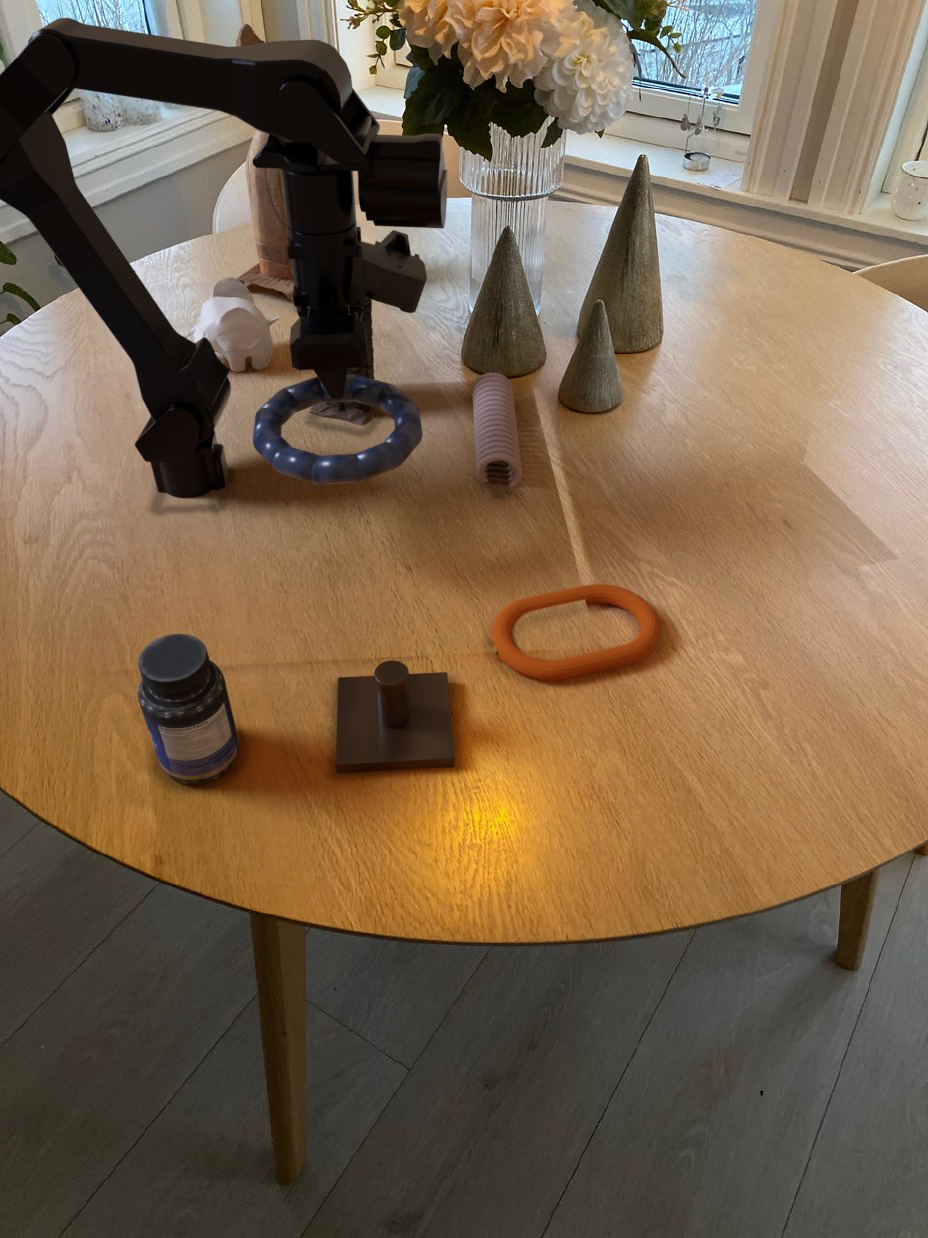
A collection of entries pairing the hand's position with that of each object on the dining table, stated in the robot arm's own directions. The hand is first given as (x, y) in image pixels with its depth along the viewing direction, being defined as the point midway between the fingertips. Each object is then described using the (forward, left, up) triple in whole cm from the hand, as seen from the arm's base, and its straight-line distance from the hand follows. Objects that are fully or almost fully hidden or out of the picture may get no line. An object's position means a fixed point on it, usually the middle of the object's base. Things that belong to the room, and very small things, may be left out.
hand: (337, 390), depth 90 cm
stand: (+4, -31, -12) cm, 33 cm away
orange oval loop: (+20, -22, -13) cm, 32 cm away
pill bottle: (-11, -33, -13) cm, 37 cm away
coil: (+16, +8, -13) cm, 22 cm away
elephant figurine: (-14, +29, -13) cm, 35 cm away
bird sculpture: (-9, +50, -13) cm, 53 cm away
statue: (0, +16, -13) cm, 21 cm away
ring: (0, -6, 0) cm, 6 cm away
